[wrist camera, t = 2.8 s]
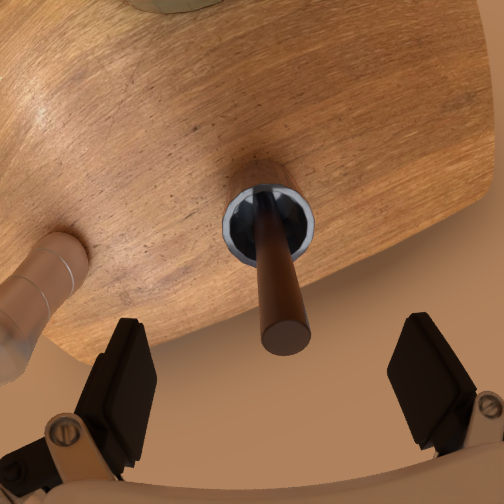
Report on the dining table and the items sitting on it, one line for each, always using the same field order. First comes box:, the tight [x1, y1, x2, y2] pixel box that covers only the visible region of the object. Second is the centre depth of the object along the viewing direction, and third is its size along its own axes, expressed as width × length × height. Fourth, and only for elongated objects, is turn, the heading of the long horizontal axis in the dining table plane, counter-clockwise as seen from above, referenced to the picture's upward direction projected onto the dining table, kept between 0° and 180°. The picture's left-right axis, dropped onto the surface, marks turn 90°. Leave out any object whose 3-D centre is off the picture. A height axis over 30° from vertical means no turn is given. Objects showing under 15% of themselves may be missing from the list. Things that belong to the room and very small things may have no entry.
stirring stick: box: [253, 191, 311, 356], centre depth 18 cm, size 2×2×16 cm
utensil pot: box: [222, 160, 315, 268], centre depth 23 cm, size 6×6×8 cm
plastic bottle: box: [0, 232, 89, 386], centre depth 20 cm, size 6×7×20 cm
